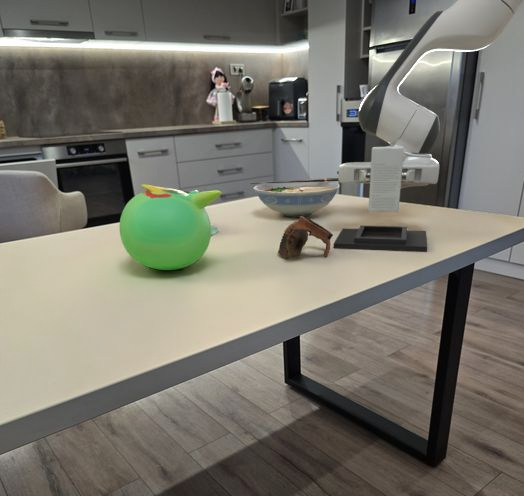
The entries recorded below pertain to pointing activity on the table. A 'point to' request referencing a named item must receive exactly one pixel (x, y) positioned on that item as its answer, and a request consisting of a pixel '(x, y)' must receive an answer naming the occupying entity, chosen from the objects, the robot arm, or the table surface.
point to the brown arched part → (302, 237)
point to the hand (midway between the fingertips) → (385, 177)
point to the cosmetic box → (385, 179)
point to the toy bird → (167, 227)
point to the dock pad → (382, 238)
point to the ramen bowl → (297, 195)
